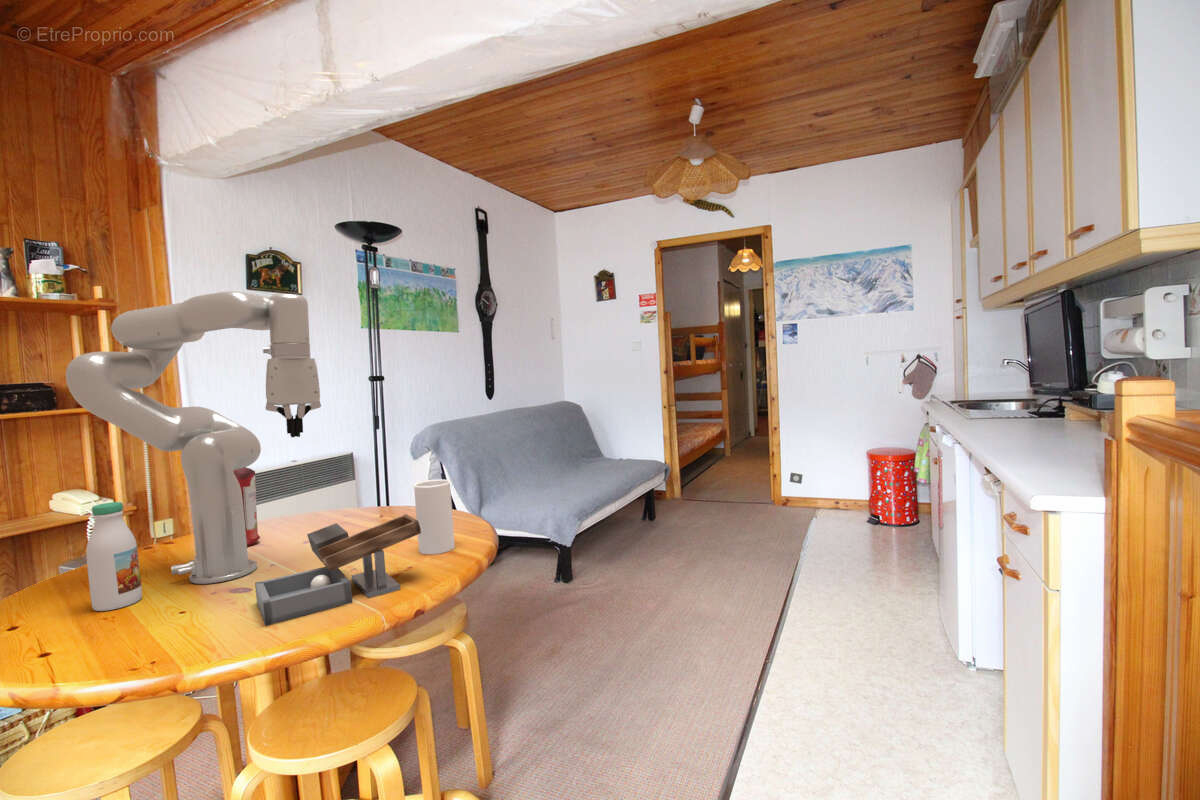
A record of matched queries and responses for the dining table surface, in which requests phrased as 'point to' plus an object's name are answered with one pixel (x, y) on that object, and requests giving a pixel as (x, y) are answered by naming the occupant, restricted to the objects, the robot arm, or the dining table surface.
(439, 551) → the cup
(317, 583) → the ball
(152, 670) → the dining table surface
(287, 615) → the tray
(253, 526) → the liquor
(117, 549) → the milk bottle
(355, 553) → the trough
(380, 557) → the pivot stand
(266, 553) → the dining table surface
